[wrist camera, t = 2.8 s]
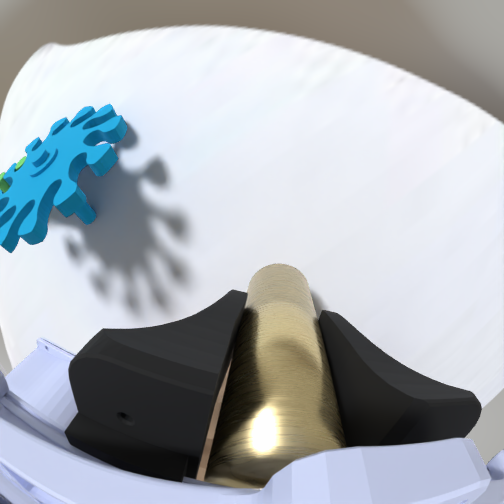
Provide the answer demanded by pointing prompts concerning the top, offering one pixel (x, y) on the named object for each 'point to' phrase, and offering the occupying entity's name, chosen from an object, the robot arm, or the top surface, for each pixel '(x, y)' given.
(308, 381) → the peg
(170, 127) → the top surface
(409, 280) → the top surface
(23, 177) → the gear
